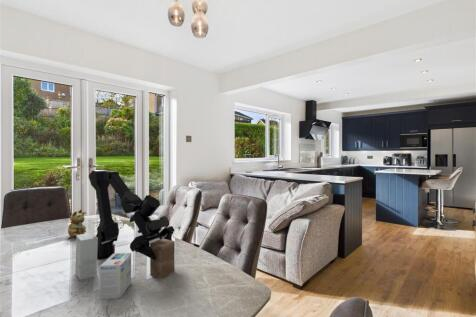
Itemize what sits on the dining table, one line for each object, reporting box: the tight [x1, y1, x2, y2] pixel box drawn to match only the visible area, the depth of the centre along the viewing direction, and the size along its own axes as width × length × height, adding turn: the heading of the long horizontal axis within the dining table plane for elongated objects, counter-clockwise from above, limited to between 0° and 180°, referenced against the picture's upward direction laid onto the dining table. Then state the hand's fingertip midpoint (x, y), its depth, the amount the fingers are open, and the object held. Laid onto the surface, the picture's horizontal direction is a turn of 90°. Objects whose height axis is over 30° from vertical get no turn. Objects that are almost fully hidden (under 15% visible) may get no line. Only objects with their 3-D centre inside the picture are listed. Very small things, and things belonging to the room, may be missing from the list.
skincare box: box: [74, 232, 98, 281], centre depth 98 cm, size 8×6×15 cm
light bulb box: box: [99, 252, 132, 300], centre depth 86 cm, size 11×7×11 cm, turn 5°
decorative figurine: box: [67, 209, 87, 238], centre depth 147 cm, size 10×8×15 cm
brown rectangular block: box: [149, 239, 176, 279], centre depth 99 cm, size 6×6×12 cm
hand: (164, 255), depth 99 cm, fingers open, 9 cm apart
